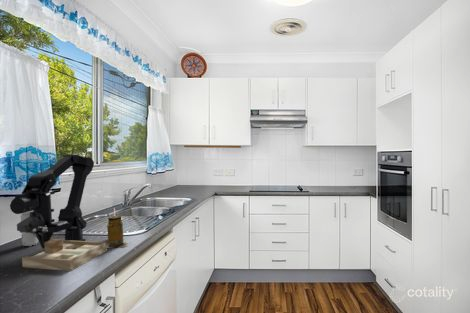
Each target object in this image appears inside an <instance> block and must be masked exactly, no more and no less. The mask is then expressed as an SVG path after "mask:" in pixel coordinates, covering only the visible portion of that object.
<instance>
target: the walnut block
mask: <svg viewBox="0 0 470 313" xmlns="http://www.w3.org/2000/svg"><path fill="white" fill-rule="evenodd" d="M44 245H45V248H44V251H45V253H56V252H58V251H60V250H63V239H62V238H51V239H50V240H49V241H47V242H44Z"/></svg>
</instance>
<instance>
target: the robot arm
mask: <svg viewBox="0 0 470 313" xmlns="http://www.w3.org/2000/svg"><path fill="white" fill-rule="evenodd" d="M94 164H95V162H94V159H93V158H92V157H89V156H87V157H86V156H81V155H78V154H75V153H71V154H70V153H69V154H65V155H63V157H62V158H60V159H59V160H57V161H56V162H55V163H54V164H53V165H51V166H50V167H49V168H47V169H45V170H43V171H40V172H37V173H35V174H33V175H30V177H29V178H28V179H27V182H26V184H25V186H24V188H23V190H22V192H21V193H17V194H15V195H14V198H13V199H12V200H11V202H10V204H9V207H10V208H9V209H10V210H11V212H12V213H14V214H15V215H20V214H21V215H22V213H25V212H28V211H32V210H33V211H32V212H30V216H29V217H28V218H26V219H24V220H23V221H21V220H20V221H19V222H18V223H17V224H16V230H17V231H18V232H19V233H21V234H22V232H26V233H32V234H34V235H35V236H36V237H37V239H38V241H39V242H38V244H39V245H40V247H41V249H45V245H44V242H47V241H49V240H52V237H53V235H54V233H58V232H61V231H64V233H65V234H64V240H72V241H87V240H86V238H83V237H84V236H83V235H84V234H83V229H85V228H86V227H87V224H88V223H87V221H86V220H85V219H84V218H83V212H82V209H81V202H82V200H83V199H82V198H83V194H84V188H85V185H86V180H87V178H88V176H89V175H90V174H91V173H92V171H93V168H94V166H95V165H94ZM70 167H72V168H71V169H72V171H73V172H72V173H73V174H74V175H73V180H72V184H71V188H70V192H69V197H68V199H67V204H66V206H65V207H64V208H60V210H59V214H58V217H57V219H58V220H57V221H56V219H53V218H52V213H53V212H55V208H52V199H51V198H52V196H51V195H54V194H56V192H55V191H53V190H52V188H53V187H54V185H55V184H56V183H57V179H58V178H59V177H60V176H61V175H62V174H64V173H65V172H66V171H68V169H70Z"/></svg>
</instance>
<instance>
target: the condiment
mask: <svg viewBox="0 0 470 313" xmlns="http://www.w3.org/2000/svg"><path fill="white" fill-rule="evenodd" d="M121 218H122V220H121ZM107 222H108V223H107V226H106V227H107V249H110V248H111V249H113V248H123V247H127V246H128V245H129V244H130V243H131V240H124V227H123V226H124V224H123V217H122V216H121V215H115V216H114V215H113V216H109V217H108V218H107Z"/></svg>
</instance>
